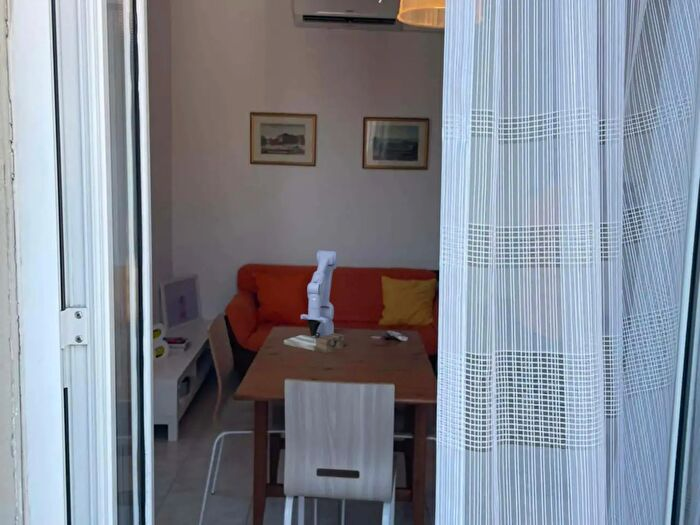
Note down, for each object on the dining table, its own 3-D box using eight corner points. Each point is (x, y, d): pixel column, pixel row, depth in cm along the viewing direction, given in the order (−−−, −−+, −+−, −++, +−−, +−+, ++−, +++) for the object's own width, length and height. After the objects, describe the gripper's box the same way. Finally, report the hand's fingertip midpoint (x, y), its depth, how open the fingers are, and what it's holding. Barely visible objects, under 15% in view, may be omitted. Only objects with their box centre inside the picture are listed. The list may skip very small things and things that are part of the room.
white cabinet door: (302, 338, 301) (302, 326, 300) (343, 347, 287) (343, 335, 287) (283, 344, 289) (284, 331, 289) (326, 353, 276) (326, 340, 275)
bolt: (317, 341, 289) (317, 332, 288) (334, 344, 283) (334, 335, 283) (313, 342, 286) (313, 333, 286) (330, 345, 281) (331, 336, 280)
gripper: (297, 306, 287) (296, 334, 289) (321, 310, 279) (320, 339, 281) (306, 304, 293) (305, 332, 294) (330, 308, 285) (329, 336, 287)
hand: (313, 335), depth 288 cm, fingers closed
